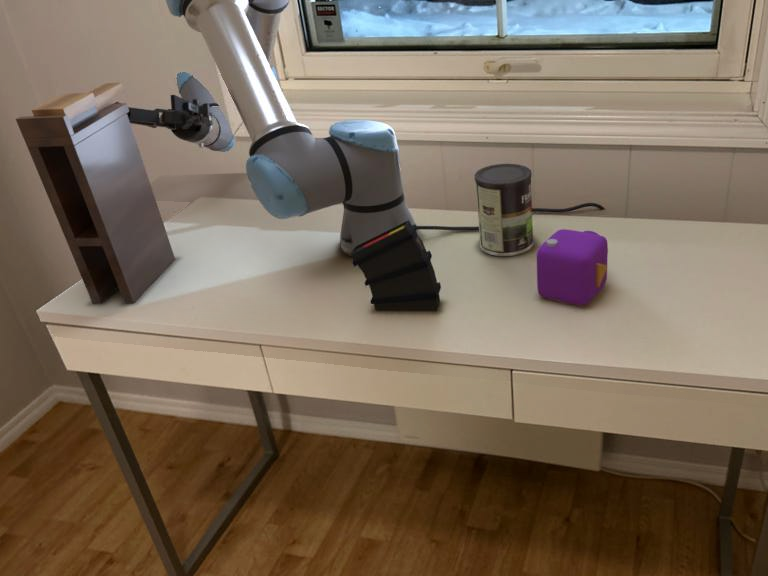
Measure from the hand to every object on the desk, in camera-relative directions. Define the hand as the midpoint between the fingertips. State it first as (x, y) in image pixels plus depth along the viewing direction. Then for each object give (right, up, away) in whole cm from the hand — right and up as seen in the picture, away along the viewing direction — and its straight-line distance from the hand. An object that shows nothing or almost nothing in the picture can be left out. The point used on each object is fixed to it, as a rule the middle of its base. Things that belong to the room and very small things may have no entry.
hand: (138, 103), depth 142 cm
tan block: (-2, -7, -14) cm, 16 cm away
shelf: (0, -33, 0) cm, 33 cm away
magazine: (+51, -40, -16) cm, 67 cm away
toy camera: (+81, -36, -15) cm, 90 cm away
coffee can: (+70, -27, +1) cm, 75 cm away
